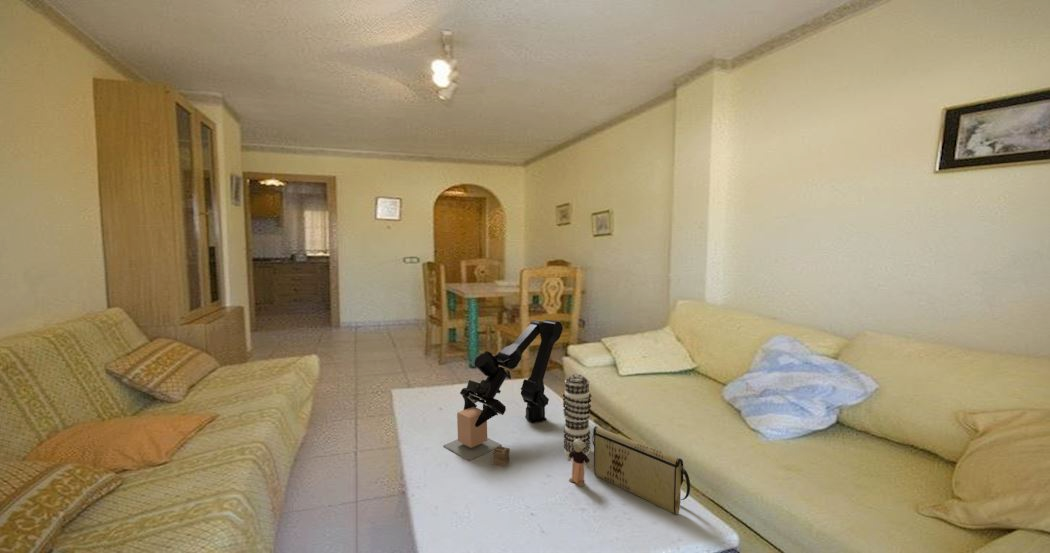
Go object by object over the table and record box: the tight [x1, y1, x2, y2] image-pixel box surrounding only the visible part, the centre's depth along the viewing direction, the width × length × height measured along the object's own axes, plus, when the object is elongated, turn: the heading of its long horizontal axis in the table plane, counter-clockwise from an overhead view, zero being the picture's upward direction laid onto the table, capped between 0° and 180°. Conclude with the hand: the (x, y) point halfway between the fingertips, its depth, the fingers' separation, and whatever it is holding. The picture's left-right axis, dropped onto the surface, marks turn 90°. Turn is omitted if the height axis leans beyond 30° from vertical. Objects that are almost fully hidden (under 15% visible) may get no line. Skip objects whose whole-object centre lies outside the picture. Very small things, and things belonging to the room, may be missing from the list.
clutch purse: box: [592, 426, 691, 516], centre depth 121 cm, size 30×7×15 cm, turn 43°
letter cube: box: [492, 446, 511, 467], centre depth 138 cm, size 4×4×4 cm
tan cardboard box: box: [456, 407, 488, 448], centre depth 148 cm, size 7×7×10 cm
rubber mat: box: [442, 437, 502, 462], centre depth 148 cm, size 14×14×1 cm
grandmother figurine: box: [567, 439, 592, 486], centre depth 125 cm, size 8×4×13 cm, turn 62°
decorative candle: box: [562, 374, 592, 457], centre depth 143 cm, size 9×9×25 cm
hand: (468, 423), depth 147 cm, fingers closed on tan cardboard box, 7 cm apart
